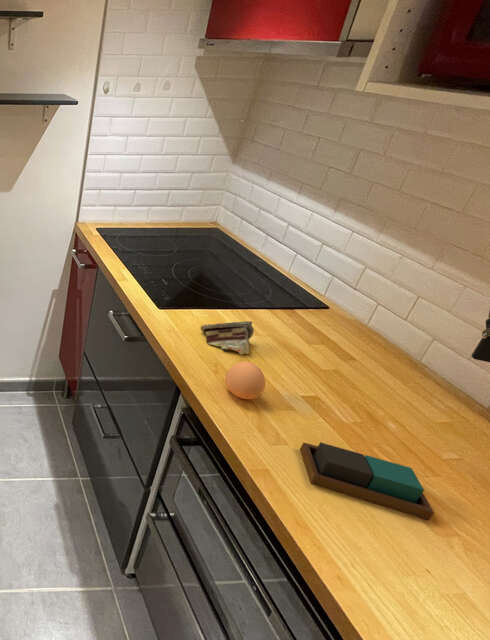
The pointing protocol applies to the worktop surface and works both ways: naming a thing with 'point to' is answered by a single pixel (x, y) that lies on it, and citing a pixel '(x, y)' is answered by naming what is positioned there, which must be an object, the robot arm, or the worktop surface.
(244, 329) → the chocolate cake
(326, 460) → the black rectangular block
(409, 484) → the teal block
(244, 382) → the egg
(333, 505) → the worktop surface
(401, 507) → the backing tray
